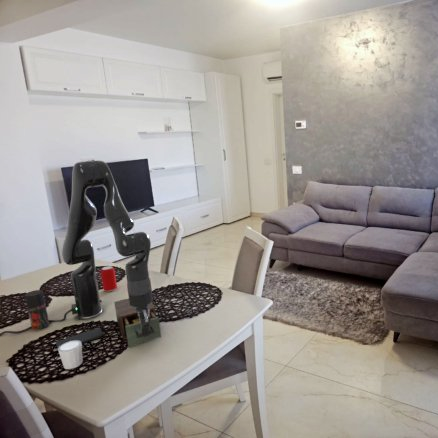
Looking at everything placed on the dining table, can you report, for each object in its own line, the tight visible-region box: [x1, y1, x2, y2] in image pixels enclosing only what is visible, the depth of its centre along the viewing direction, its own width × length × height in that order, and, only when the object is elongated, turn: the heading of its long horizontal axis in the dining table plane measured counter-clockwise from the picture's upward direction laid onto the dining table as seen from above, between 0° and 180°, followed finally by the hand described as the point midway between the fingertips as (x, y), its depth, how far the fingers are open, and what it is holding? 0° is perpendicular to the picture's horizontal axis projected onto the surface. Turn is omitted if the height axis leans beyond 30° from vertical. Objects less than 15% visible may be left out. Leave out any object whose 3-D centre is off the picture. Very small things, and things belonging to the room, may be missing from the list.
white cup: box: [57, 340, 84, 370], centre depth 121 cm, size 7×7×7 cm
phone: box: [55, 327, 104, 349], centre depth 137 cm, size 7×1×15 cm
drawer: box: [123, 310, 162, 348], centre depth 136 cm, size 19×11×8 cm, turn 33°
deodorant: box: [24, 289, 50, 332], centre depth 146 cm, size 6×6×15 cm
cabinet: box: [113, 297, 157, 340], centre depth 145 cm, size 16×13×10 cm
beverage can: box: [100, 265, 118, 293], centre depth 182 cm, size 6×6×12 cm
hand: (146, 335), depth 127 cm, fingers closed
